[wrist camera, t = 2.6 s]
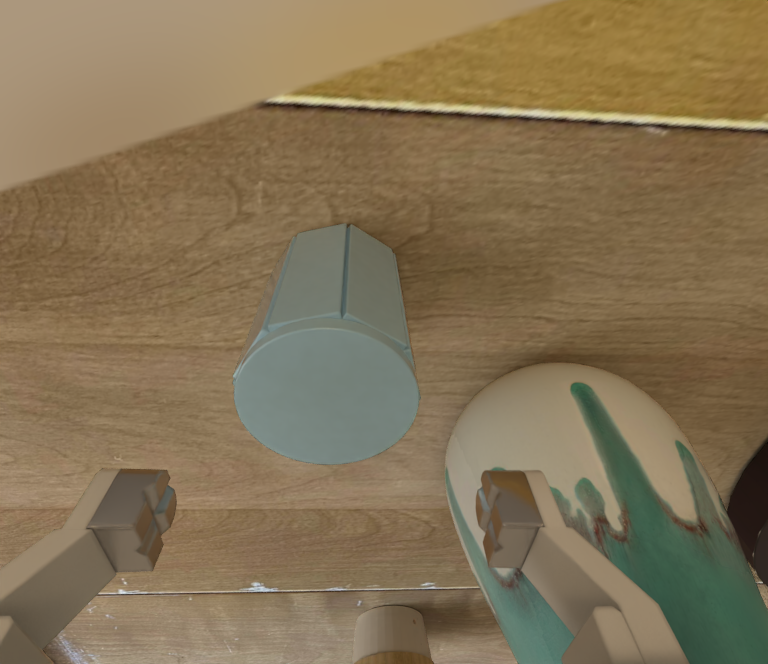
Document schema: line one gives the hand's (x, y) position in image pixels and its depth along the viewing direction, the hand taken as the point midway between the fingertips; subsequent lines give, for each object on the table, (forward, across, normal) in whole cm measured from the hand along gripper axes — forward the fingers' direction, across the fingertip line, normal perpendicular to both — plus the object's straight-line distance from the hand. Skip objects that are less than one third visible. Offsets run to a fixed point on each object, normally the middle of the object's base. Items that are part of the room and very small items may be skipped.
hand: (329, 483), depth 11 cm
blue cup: (+11, 0, 0) cm, 11 cm away
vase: (+11, -11, +8) cm, 18 cm away
